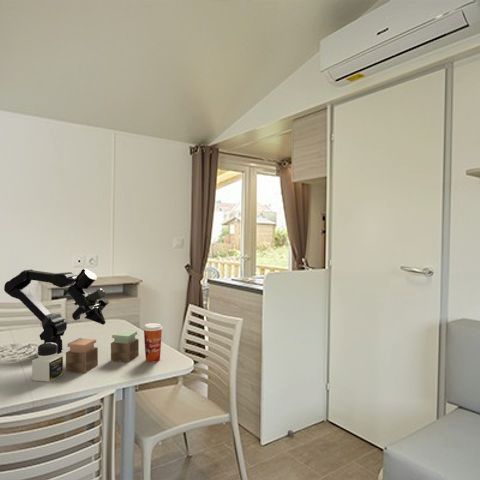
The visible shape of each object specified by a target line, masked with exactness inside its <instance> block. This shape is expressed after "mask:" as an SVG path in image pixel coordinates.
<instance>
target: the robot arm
mask: <svg viewBox="0 0 480 480" xmlns="http://www.w3.org/2000/svg"><path fill="white" fill-rule="evenodd" d="M97 278H98V276H97V275H96V273H95V272H93V271H91V270H90V269H87V268H82V269H81V271H80V272H79V273H78V274H77V275H76V274H74V272H72V271H71V272H70V271H69V272H57V273H56V272H48V271H40V270H33V269H26V270H25V269H24V270H22V271H21V272H20V273H19V274H18V275H16V276H14V277H12V278H11V279H10V280H8V281H6V282H5V283H4V287H3V288H4V289H3V290H4V292H5V293H6V294H7V295H9V296H10V297H11V298H14V299H16V300H19V301H20V302H22V304H23V305H24V306H25V307H26V308H27V309H28V310H29V311H30V312H31V313H32V314H33V315H34V316H35V317H36V318H37V319H38V320H39V321H40V322H41V328H42V329H43V331H42V332H41V333H40V334H39V339H40V340H41V341H43V343H56V344H57V354H58V353H59V354H61V353H63V351H62V350H63V339H62V337H61V336H64V335H65V332H66V331H67V327H68V325H67V322H66V319H65V318H64V317H63V316H62V315H61V314H60V313H56V314H53V313H51V312H50V310H48V309H47V307H45V305H43V304H42V302H40V301H39V300H38V299H37V297H35V296H34V295H33V294H32V293H31V292H30V291H31V290H30V286H29V285H30V284H31V282H32V281H36V282H43V283H48V284H52V285H53V286H55V287H58V288H65V289H63V297H67V296H70V297H71V299H72V300H73V301H74V302H75V303H73V304H74V306H78V307H77V308H76V309H75V310H74V311H73V313H71V318H72V319H73V320H74V321H78V320H80V319H81V316H82V315H84V314H85V316H84V319H85V320H86V319H87V320H90V321H93V322H95V323H98V324H101V325H105V324H106V320H105V317H104V315H103V312H102V311H103V310H104V309H105V308H106V306H107V305H108V304H109V303H110V301H109V300H108V299H107V298H105V297H106V290H104V289H103V288H99V289H96V291H94V292H92V293H91V292H87V291H86V290H87V289H89V288H90V287H91V286H92V284H94V283H95V281H96V280H97ZM66 287H68V288H66Z"/></svg>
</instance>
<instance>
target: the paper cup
mask: <svg viewBox="0 0 480 480" xmlns="http://www.w3.org/2000/svg"><path fill="white" fill-rule="evenodd" d="M163 328H164V327H163V325H162V323H156V322H154V323H153V322H152V323H146V324H144V326H143V328H142V329H143V335H144V353H145V361H146V362H148V363H155V362H159V361H160V359H161V352H162V349H161V348H162V332H163V331H162V330H163Z"/></svg>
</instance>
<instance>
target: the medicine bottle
mask: <svg viewBox="0 0 480 480" xmlns="http://www.w3.org/2000/svg"><path fill="white" fill-rule="evenodd" d="M63 356H64V355H62V354H58V353H57V344H56V343H44V342H43V343H41V344H40V345H38V346H37V357H36V358H34V359H32V360H31V378H32V379H31V380H32V381H36V382H48V383H50V382H52V381H54V380H56V379H57V378H59V377H61V376H63V374H64V373H63V372H64V359H63V358H64V357H63Z"/></svg>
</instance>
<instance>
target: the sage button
mask: <svg viewBox="0 0 480 480" xmlns="http://www.w3.org/2000/svg"><path fill="white" fill-rule="evenodd" d="M137 335H138V331H135V330H134V331H133V330H124V329H123V330H119V331H117V332H115V333H113V334H111V339H114V341H113V342H114V343H122V344H129V343H131V342H133V341H134V340H135V339H136V336H137Z"/></svg>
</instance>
